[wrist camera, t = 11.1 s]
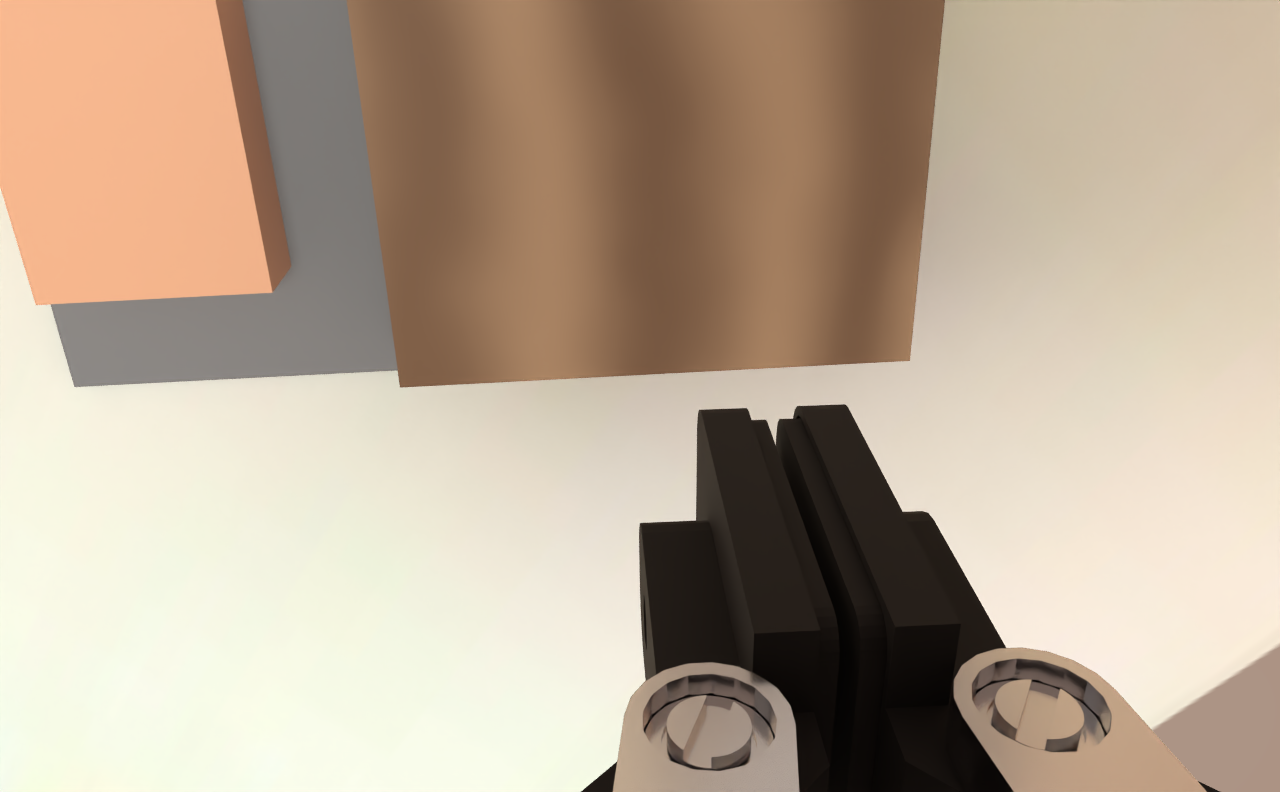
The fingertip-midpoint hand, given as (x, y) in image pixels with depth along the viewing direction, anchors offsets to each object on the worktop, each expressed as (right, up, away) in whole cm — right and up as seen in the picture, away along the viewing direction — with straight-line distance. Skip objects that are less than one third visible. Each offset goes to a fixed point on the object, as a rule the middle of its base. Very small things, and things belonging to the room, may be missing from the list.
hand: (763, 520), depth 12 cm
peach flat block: (-16, +8, +17) cm, 25 cm away
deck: (-1, +10, +21) cm, 23 cm away
